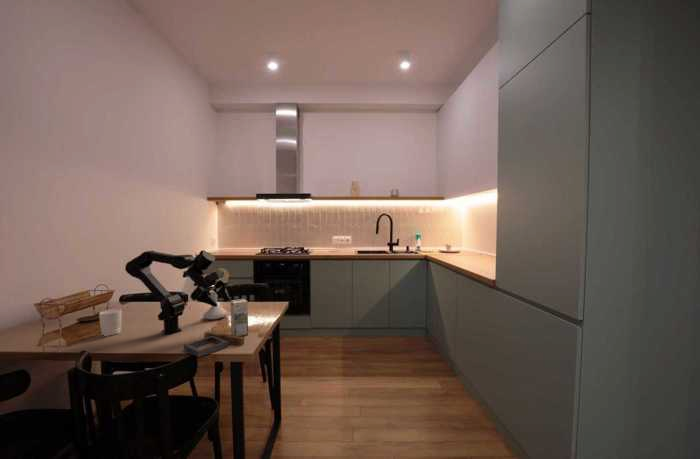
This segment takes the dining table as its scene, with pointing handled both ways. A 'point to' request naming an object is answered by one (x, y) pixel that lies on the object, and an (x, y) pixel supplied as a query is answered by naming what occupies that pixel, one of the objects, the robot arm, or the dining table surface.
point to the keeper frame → (219, 345)
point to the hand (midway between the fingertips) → (223, 303)
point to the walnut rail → (226, 337)
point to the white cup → (111, 321)
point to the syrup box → (239, 317)
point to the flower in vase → (216, 311)
